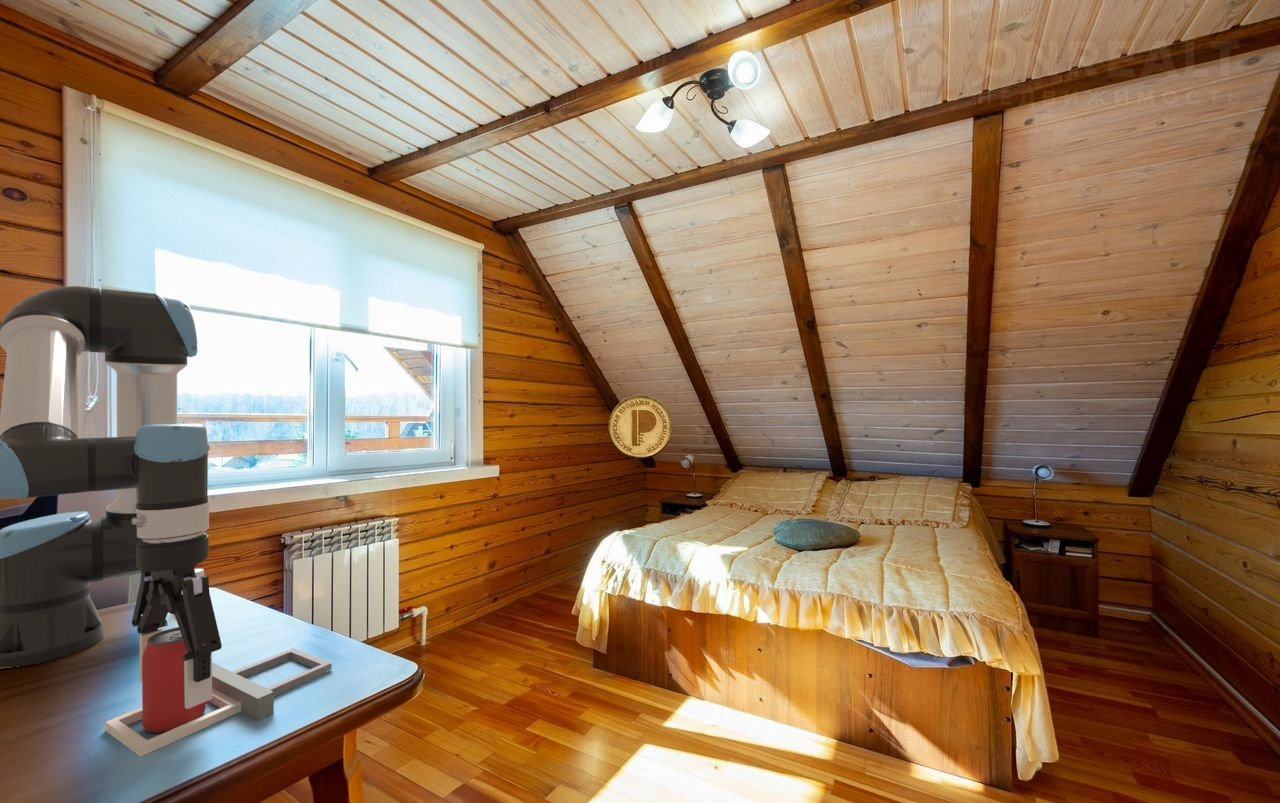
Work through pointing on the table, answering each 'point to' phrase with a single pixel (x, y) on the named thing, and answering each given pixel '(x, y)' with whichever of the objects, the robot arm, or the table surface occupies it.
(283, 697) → the table surface
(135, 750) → the double frame with crossbar
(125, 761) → the table surface
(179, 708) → the beer can
